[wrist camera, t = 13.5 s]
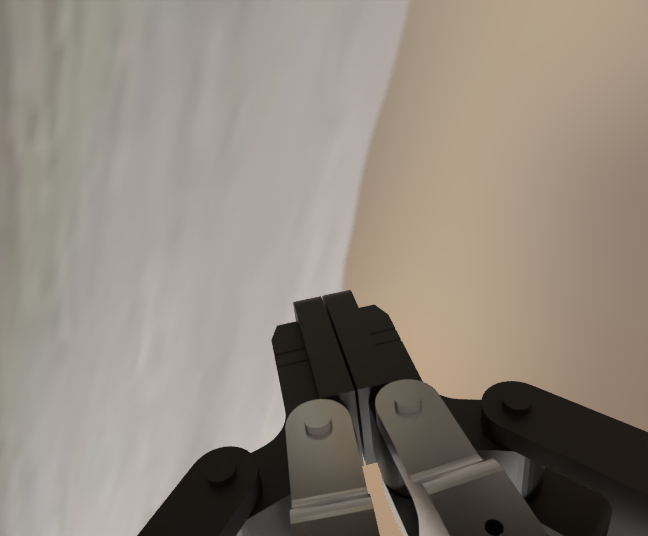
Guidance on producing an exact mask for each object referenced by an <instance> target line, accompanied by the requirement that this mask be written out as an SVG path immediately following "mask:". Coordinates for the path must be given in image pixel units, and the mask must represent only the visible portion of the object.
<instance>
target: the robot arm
mask: <svg viewBox="0 0 648 536" xmlns="http://www.w3.org/2000/svg"><path fill="white" fill-rule="evenodd" d="M293 305H294V312H295V317H296V322H292V323H287V324H283V325H278V326H277V327H276V330H275V332H274V335H273V338H272V345H273V350H274V355H275V361H276V366H277V371H278V376H279V381H280V386H281V391H282V396H283V401H284V407H285V412H286V419H285V423H284V426H283V428H282V430H281V431H280V433H279V434H278V435H277V436H276V437H275V438H274V439H273V440H272V441H271V442H270V443H268V444H267V445H265V446H263V447H262V448H260V449H258V450H256V451H254V452H252V453H250V452H248V451H247V450H245V449H243V448H239V447H232V446H230V447H222V448H218V449H215V450H212V451H210V452H208V453H206V454H205V455H203V456H202V457H201V458H200V459H198V460H197V462H196V463H195V464H194V465H193V466H192V467H191V469H190V470H189V471H188V472H187V474H186V475H185V476H184V477H183V479H182V480H181V481H180V482H179V484H178V485H177V486H176V487H175V489H174V490H173V491H172V493H171V494H170V495H169V496H168V498H167V499H166V500H165V501H164V503H163V504H162V505H161V506H160V508H159V509H158V510H157V511H156V513H155V514H154V515H153V516H152V518H151V519H150V520H149V521H148V523H147V524H146V525H145V527H144V528H143V529H142V530H141V532H140V533H139V534H138V535H137V536H380V534H379V530H378V525H377V521H376V517H375V512H374V508H373V504H372V500H371V496H370V494H368V491H367V487H366V483H365V478H364V473H363V469H362V466H363V458H362V453H363V456H364V459H365V462H366V465H368V464H372V463H376V462H377V463H378V466H379V468H380V471H381V474H382V482H383V491H384V494H385V497H386V499H387V501H388V503H389V506H390V508H391V510H392V512H393V515H394V517H395V519H396V521H397V524H398V526H399V528H400V531H401V533H402V535H403V536H648V432H646V431H643V430H641V429H638V428H636V427H633V426H631V425H629V424H626V423H623V422H621V421H619V420H616V419H614V418H611V417H609V416H606V415H604V414H601V413H599V412H596V411H594V410H592V409H589V408H587V407H584V406H582V405H579V404H577V403H574V402H572V401H569V400H567V399H564V398H562V397H559V396H557V395H554V394H552V393H549V392H547V391H545V390H542V389H540V388H537V387H534V386H532V385H529V384H526V383H522V382H516V381H507V382H501V383H497V384H495V385H493V386H491V387H490V388H488V389H487V390H486V391H485V393H484V394H483V397H482V400H467V399H466V400H465V399H452V398H447V397H444V396H441V395H439V394H438V393H437V392H436V390H435V389H434V388H433V387H431V386H430V385H428V384H426V383H424V382H423V381H422V379H421V377H420V376H419V374H418V372H417V370H416V368H415V366H414V364H413V362H412V360H411V358H410V356H409V354H408V352H407V350H406V348H405V347H404V344H403V342H402V341H401V339H400V337H399V335H398V333H397V331H396V330H395V327H394V325H393V323H392V321H391V319H390V317H389V315H388V314H387V313H385V312H384V311H382V310H381V309H380V308H378V307H377V306H376V305H370V306H366V307H361V308H358V305H357V303H356V301H355V299H354V296H353V294H352V292H351V290H348V291H343V292H338V293H334V294H329V295H324V296H323V300H322V298H321V296H320V297H315V298H311V299H306V300H301V301H296V302H293ZM559 473H560V474H559ZM561 474H562V475H561ZM592 489H593V490H592ZM594 490H595V491H594Z"/></svg>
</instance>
